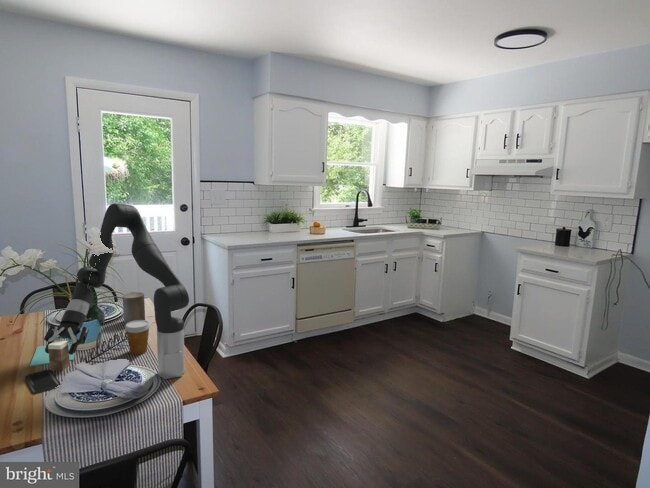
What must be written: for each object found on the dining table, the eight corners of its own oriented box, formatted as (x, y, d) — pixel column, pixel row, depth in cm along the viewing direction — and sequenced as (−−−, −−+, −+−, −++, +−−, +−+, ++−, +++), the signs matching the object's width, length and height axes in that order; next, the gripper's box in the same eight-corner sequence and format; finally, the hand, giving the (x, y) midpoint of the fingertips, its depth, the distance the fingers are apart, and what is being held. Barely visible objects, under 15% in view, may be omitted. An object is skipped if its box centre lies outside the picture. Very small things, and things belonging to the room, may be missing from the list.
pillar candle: (149, 319, 206) (148, 290, 204) (136, 326, 197) (135, 295, 195) (132, 317, 208) (131, 288, 206) (119, 323, 199) (117, 293, 197)
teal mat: (73, 360, 160) (73, 359, 160) (29, 366, 154) (29, 365, 154) (77, 342, 176) (77, 341, 176) (37, 347, 169) (37, 346, 169)
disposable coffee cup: (142, 344, 177) (141, 318, 175) (155, 350, 172) (154, 323, 169) (121, 351, 169) (119, 324, 167) (134, 358, 164) (132, 329, 162)
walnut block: (69, 365, 156) (68, 340, 154) (62, 371, 152) (60, 345, 150) (57, 365, 156) (56, 340, 154) (50, 370, 152) (48, 344, 150)
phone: (50, 368, 151) (61, 384, 141) (50, 371, 151) (61, 387, 141) (23, 375, 146) (33, 392, 135) (24, 378, 146) (33, 395, 136)
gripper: (52, 308, 159) (34, 348, 150) (89, 310, 159) (73, 350, 150) (62, 316, 165) (45, 356, 156) (97, 318, 165) (82, 357, 156)
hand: (59, 353), depth 153 cm, fingers open, 8 cm apart
